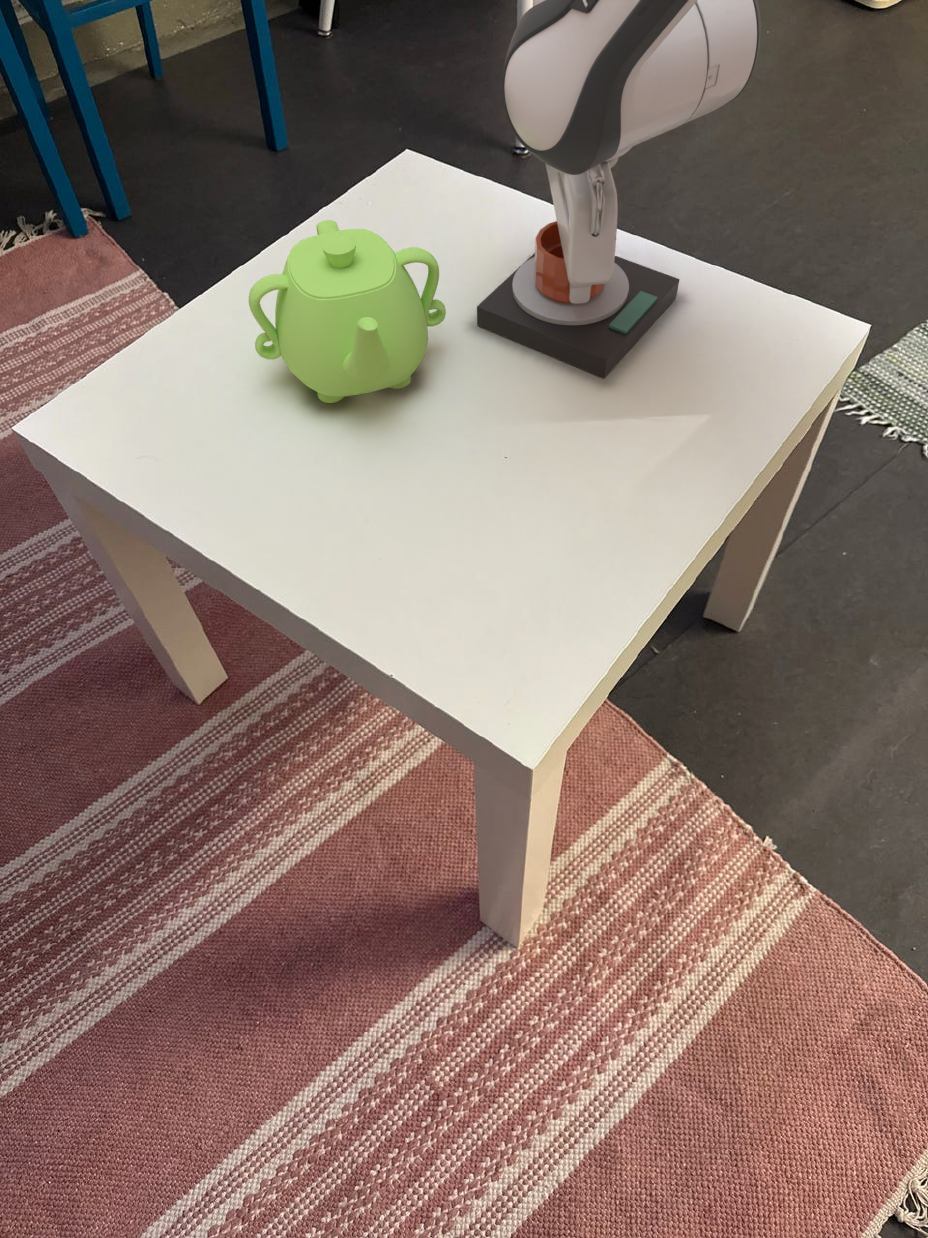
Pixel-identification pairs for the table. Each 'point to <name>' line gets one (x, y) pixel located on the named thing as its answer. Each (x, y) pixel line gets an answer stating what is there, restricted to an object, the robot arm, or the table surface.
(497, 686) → the table surface
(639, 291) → the scale
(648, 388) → the table surface
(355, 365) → the teapot
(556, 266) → the orange cup
